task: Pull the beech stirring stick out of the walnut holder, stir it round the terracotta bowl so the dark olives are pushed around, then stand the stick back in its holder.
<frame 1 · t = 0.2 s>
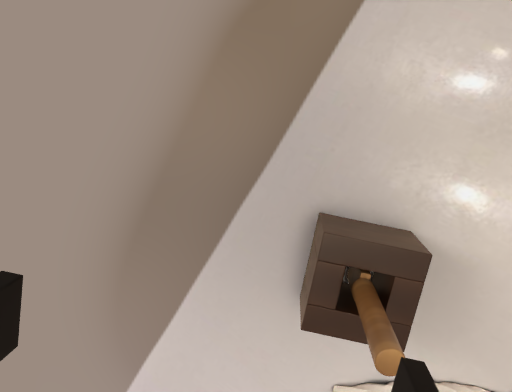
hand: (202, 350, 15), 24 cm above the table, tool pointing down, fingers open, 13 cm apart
holder: (354, 264, 39), on the table
stick: (368, 302, 31), in the holder
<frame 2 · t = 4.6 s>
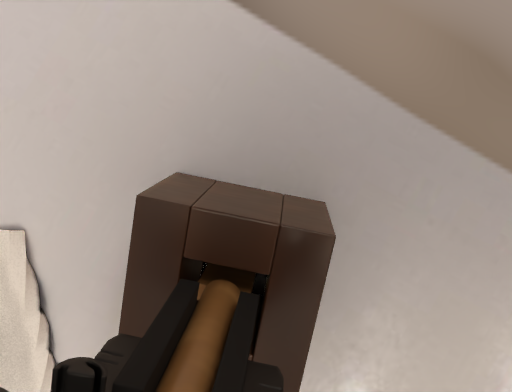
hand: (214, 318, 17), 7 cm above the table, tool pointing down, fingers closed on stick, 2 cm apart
holder: (236, 257, 24), on the table
stick: (211, 325, 17), in the holder, touching gripper
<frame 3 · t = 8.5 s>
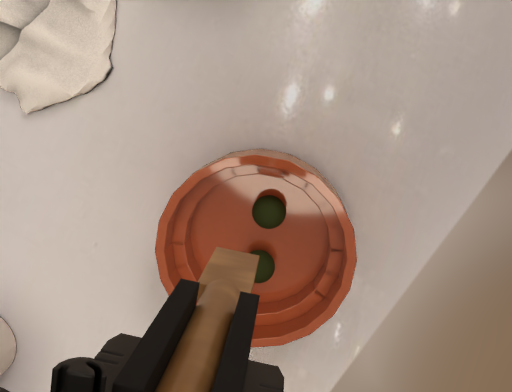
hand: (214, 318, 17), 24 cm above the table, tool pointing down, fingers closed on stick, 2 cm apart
olive b: (268, 211, 39), point 2 cm above the table, touching bowl
bowl: (259, 236, 42), on the table
olive a: (258, 266, 40), point 2 cm above the table, touching bowl
stick: (211, 325, 17), point 25 cm above the table, touching gripper
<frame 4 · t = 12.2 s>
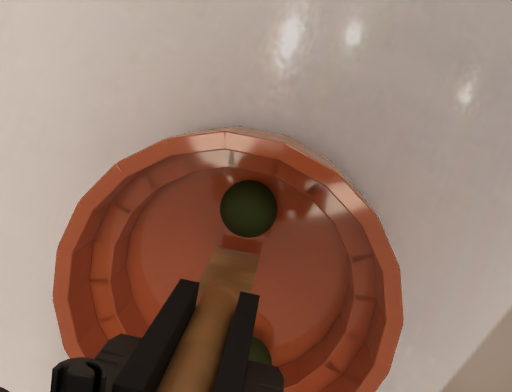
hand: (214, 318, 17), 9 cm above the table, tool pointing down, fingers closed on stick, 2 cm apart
olive b: (248, 208, 23), point 2 cm above the table, tilted 46°, touching bowl
bowl: (237, 267, 26), on the table
olive a: (245, 363, 25), point 2 cm above the table, tilted 102°, touching bowl
stick: (211, 325, 17), point 10 cm above the table, touching gripper
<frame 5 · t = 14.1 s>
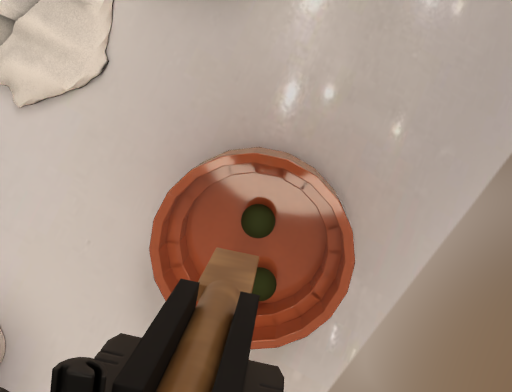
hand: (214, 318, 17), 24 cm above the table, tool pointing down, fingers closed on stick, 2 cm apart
olive b: (258, 221, 38), point 2 cm above the table, tilted 39°, touching bowl
bowl: (255, 236, 41), on the table
olive a: (259, 284, 39), point 2 cm above the table, tilted 63°, touching bowl
stick: (211, 326, 17), point 24 cm above the table, touching gripper
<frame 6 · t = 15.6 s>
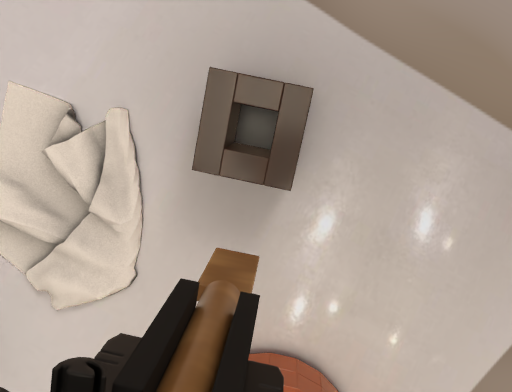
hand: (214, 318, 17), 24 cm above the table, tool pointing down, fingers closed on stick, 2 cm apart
cloth: (66, 192, 43), on the table
holder: (257, 126, 40), on the table
stick: (211, 326, 17), point 25 cm above the table, touching gripper
when the fingers open (7 cm above the table, at t = 21.1 s): stick stays where it is, resting in holder.
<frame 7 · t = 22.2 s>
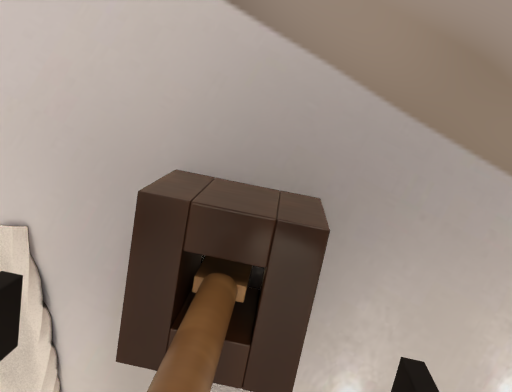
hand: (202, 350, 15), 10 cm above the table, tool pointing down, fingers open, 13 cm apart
holder: (234, 252, 25), on the table
stick: (208, 315, 17), in the holder
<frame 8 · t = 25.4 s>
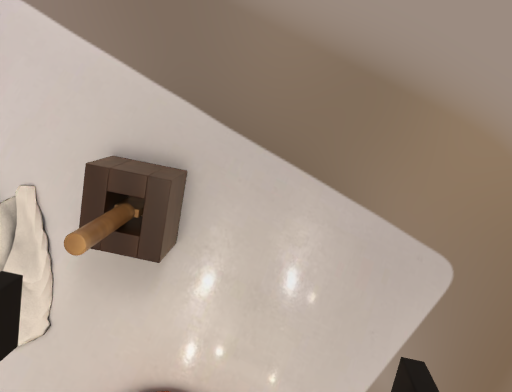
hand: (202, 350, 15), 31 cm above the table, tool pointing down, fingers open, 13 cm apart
holder: (144, 200, 46), on the table
stick: (115, 218, 39), in the holder
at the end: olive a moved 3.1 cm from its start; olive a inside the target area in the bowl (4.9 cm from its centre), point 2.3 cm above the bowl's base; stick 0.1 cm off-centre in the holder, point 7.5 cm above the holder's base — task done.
